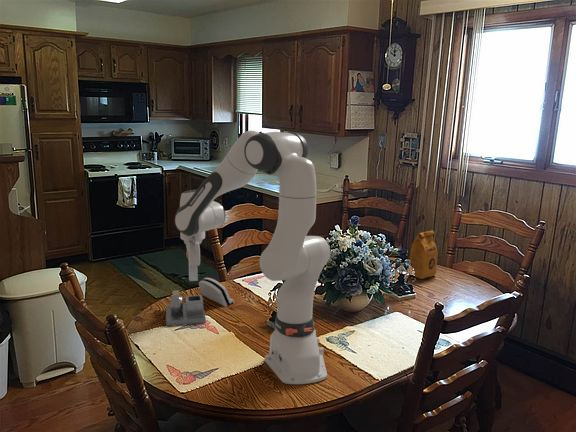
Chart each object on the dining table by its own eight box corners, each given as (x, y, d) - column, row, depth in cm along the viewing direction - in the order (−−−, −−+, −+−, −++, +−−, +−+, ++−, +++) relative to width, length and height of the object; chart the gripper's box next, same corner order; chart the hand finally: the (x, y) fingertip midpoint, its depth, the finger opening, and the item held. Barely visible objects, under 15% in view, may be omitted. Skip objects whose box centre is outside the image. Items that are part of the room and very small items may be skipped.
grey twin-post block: (205, 322, 179) (205, 302, 177) (166, 326, 176) (165, 305, 174) (202, 305, 195) (201, 286, 193) (165, 307, 191) (165, 288, 190)
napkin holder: (235, 303, 197) (228, 283, 193) (226, 310, 194) (219, 290, 190) (211, 291, 209) (204, 272, 205) (202, 297, 206) (195, 278, 202)
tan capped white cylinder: (199, 281, 180) (199, 254, 178) (187, 281, 179) (187, 254, 177) (198, 277, 184) (198, 250, 182) (187, 277, 183) (186, 251, 181)
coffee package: (439, 276, 233) (443, 232, 228) (421, 281, 226) (425, 235, 221) (423, 270, 241) (426, 227, 236) (405, 275, 234) (409, 230, 229)
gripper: (204, 241, 169) (204, 278, 172) (199, 226, 188) (199, 260, 191) (185, 241, 167) (186, 280, 170) (182, 226, 186) (183, 261, 190)
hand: (193, 269), depth 181 cm, fingers closed on tan capped white cylinder, 4 cm apart
